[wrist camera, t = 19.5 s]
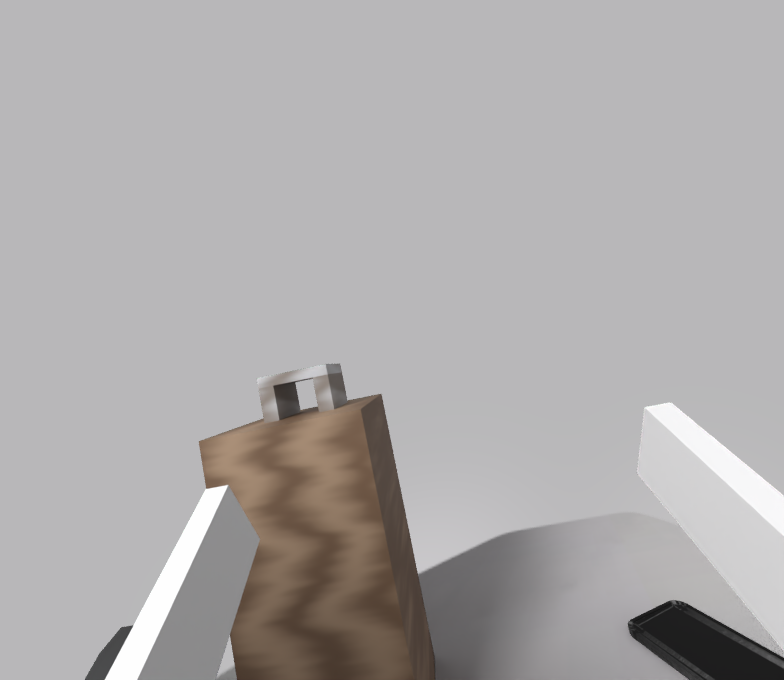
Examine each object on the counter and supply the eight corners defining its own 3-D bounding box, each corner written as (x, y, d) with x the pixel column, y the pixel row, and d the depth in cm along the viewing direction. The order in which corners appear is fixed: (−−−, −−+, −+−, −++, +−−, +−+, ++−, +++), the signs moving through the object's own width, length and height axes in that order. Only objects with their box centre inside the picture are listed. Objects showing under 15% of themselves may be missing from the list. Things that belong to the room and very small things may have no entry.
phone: (675, 597, 41) (878, 710, 27) (678, 607, 41) (883, 726, 27) (621, 624, 39) (810, 761, 25) (624, 634, 39) (815, 779, 25)
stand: (261, 827, 28) (190, 389, 31) (315, 673, 42) (263, 380, 45) (439, 807, 27) (350, 355, 30) (434, 655, 41) (373, 357, 44)
